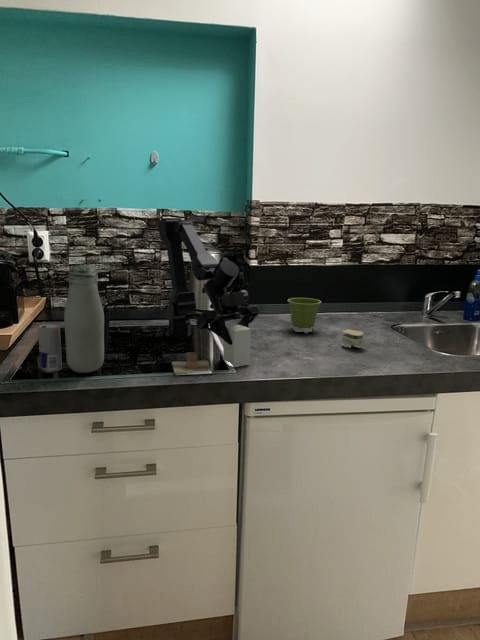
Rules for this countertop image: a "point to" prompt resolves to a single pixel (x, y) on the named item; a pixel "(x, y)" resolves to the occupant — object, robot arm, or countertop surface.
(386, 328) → the countertop surface
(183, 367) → the beige board with block
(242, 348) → the tall pale rectangular prism
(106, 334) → the cup
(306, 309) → the plant pot
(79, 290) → the glass bottle
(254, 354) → the countertop surface
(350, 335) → the stacked layers on plate
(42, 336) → the energy drink
